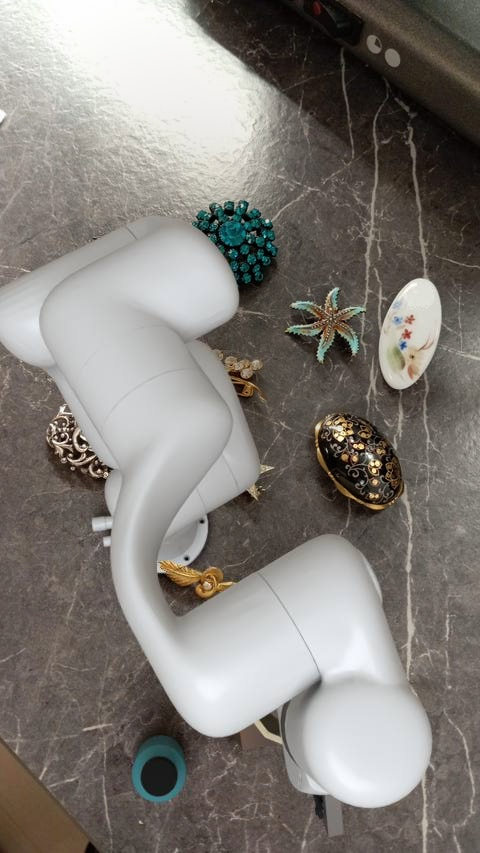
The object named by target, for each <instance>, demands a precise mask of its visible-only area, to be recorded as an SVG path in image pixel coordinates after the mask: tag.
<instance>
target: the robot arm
mask: <svg viewBox="0 0 480 853" xmlns="http://www.w3.org/2000/svg"><path fill="white" fill-rule="evenodd" d="M239 304H240V292H239V286H238V283H237V280H236V277H235V275H234V271H233V270H232V268H231V266H230V263H229V262H228V261H227V259H226V257H225V256H224V254H223V252H222V251H221V250H220V249H219V247H218V246H217V245H216V244H215V243H214V242H213V241H212V240H211V239H210V238H209V237H208V236H207V235H206V234H205V233H204V232H203V231H202V230H200V229H199V228H197V227H196V226H195V225H193V224H191V223H189V222H187V221H186V220H182V219H180V218H175V217H172V216H171V217H170V216H163V215H156V214H155V215H154V214H153V215H146V216H143V217H140V218H137V219H135V220H133V221H131V222H129V223H127V224H125V225H123V226H121V227H118V228H116V229H114V230H112V231H111V232H108V233H106V234H105V235H102V236H100V237H99V238H97V239H95V240H93V241H91V242H88V243H86V244H85V245H83V246H81V247H79V248H76V249H74V250H72V251H70V252H67V253H66V254H63V255H61V256H59V257H57V258H55V259H53V260H52V261H51V260H50V261H49V262H47V263H45V264H43V265H41V266H39V267H37V268H35V269H34V270H31V271H29V272H28V273H26V274H23V275H21V276H19V277H17V278H15V279H13V280H12V281H9V282H7V283H5V284H4V285H2V286H1V287H0V343H1V345H3V347H5V349H6V350H7V351H8V352H9V353H11V354H12V355H13V356H14V357H15V358H17V359H19V361H22V362H23V363H26V364H28V365H30V366H33V367H37V368H40V369H41V370H43V371H44V372H45V373H46V374H47V375H48V376H50V378H51V379H52V380H53V382H54V383H55V385H56V387H57V388H58V390H59V392H60V394H61V396H62V398H63V399H64V400H63V401H64V402H65V403H66V406H67V407H68V409H69V411H70V413H71V414H72V417H73V418H74V419H75V422H76V424H77V425H78V428H79V429H80V431H81V433H82V435H83V437H84V438H85V440H86V442H87V444H88V446H89V447H90V448H91V450H92V452H93V453H94V454H95V455H96V457H97V458H98V459H99V461H100V462H102V463H103V464H104V465H105V466H107V467H109V468H111V469H112V471H111V472H110V473H109V474H108V476H107V478H106V480H105V483H104V500H105V503H106V506H107V509H108V511H109V514H110V515H106V516H105V515H103V516H102V515H101V516H94V517H91V526H92V527H91V528H92V531H93V532H92V533H95V532H103V531H107V530H111V531H110V535H107V536H102V542H103V548H107V547H110V553H109V558H110V569H111V577H112V582H113V586H114V590H115V594H116V598H117V601H118V603H119V605H120V608H121V611H122V613H123V616H124V618H125V619H126V622H127V623H128V626H129V628H130V629H131V631H132V633H133V635H134V637H135V638H136V640H137V642H138V644H139V646H140V647H141V650H142V651H143V653H144V655H145V657H146V658H147V661H148V662H149V665H150V666H151V668H152V670H153V672H154V673H155V676H156V677H157V679H158V681H159V683H160V685H161V686H162V688H163V690H164V692H165V693H166V695H167V697H168V699H169V700H170V702H171V704H172V705H173V707H174V708H175V709H176V711H177V712H178V714H179V715H180V716H181V718H182V719H183V720H184V721H185V722H186V723H187V724H188V725H189V726H190V727H192V729H194V730H195V731H197V733H200V734H202V735H204V736H206V737H209V738H224V737H230V736H232V735H233V734H235V733H237V732H240V731H241V730H243V729H245V728H246V727H248V726H250V725H251V724H253V723H255V722H256V721H258V720H259V719H261V718H263V717H264V716H266V715H267V714H269V713H271V712H272V711H274V710H275V709H277V712H278V719H279V727H280V735H281V739H282V744H281V745H282V750H283V755H284V762H285V768H286V773H287V776H288V780H289V782H290V783H291V785H292V786H293V787H294V788H295V789H296V790H297V791H299V792H301V793H304V794H305V797H306V798H310V797H311V798H312V797H313V802H314V806H315V807H314V813H315V816H317V818H318V820H322V822H323V827H324V830H325V832H326V835H327V837H328V838H331V837H335V836H336V837H337V836H342V835H344V833H345V832H344V818H343V809H342V808H343V806H342V803H344V804H346V805H350V806H353V807H357V808H363V809H376V808H383V807H387V806H390V805H392V804H395V803H396V802H397V803H398V802H399V801H400V800H403V799H404V798H405V797H407V796H409V794H410V793H411V792H412V791H413V790H415V788H416V787H417V786H418V785H419V784H420V782H421V781H422V779H423V778H424V776H425V774H426V772H427V769H428V768H429V765H430V762H431V757H432V752H433V733H432V726H431V722H430V719H429V716H428V714H427V711H426V709H425V707H424V705H423V703H422V702H421V701H420V699H419V698H418V696H417V695H416V694H415V693H414V691H413V690H412V687H411V684H410V682H409V678H408V676H407V674H406V671H405V668H404V665H403V661H402V659H401V657H400V654H399V651H398V648H397V645H396V642H395V640H394V637H393V633H392V631H391V629H390V625H389V622H388V619H387V616H386V613H385V610H384V607H383V593H382V589H381V585H380V582H379V579H378V577H377V575H376V572H375V570H374V569H373V567H372V565H371V562H369V560H368V559H367V557H366V556H365V555H364V554H363V552H362V551H361V550H360V549H358V548H357V547H356V546H354V545H353V544H352V543H351V542H350V541H349V540H348V539H347V538H345V537H343V536H341V535H338V534H335V533H325V534H321V535H318V536H316V537H313V538H311V539H309V540H307V541H305V542H303V543H302V544H300V545H298V546H296V547H295V548H294V549H292V550H290V551H289V552H286V553H285V554H283V555H282V556H280V557H279V558H277V559H275V560H274V561H272V562H270V563H269V564H267V565H265V566H264V567H262V568H260V569H259V570H257V571H254V572H252V573H250V574H249V575H247V576H245V577H243V578H242V579H241V580H239V581H238V582H236V583H234V584H232V585H231V586H229V587H228V588H226V589H224V590H222V591H221V592H219V593H217V594H216V595H214V596H213V597H211V598H209V599H207V600H206V601H204V602H202V603H201V604H199V605H198V606H196V607H194V608H193V609H192V610H190V611H188V612H186V613H185V614H183V615H182V616H177V615H176V614H175V613H174V612H173V610H172V608H171V607H170V605H169V603H168V601H167V599H166V597H165V594H164V592H163V589H162V588H161V584H160V580H159V576H158V574H167V573H170V572H166V571H164V570H162V569H161V568H160V566H161V565H162V564H160V563H158V562H159V561H168V560H170V561H171V562H173V563H176V564H178V565H181V566H185V567H188V566H189V565H190V564H191V563H193V562H194V561H195V560H196V559H197V558H198V556H199V555H200V554H201V552H202V551H203V548H204V547H205V544H206V542H207V538H208V533H209V519H208V514H209V513H210V512H213V511H214V510H215V509H218V508H219V507H221V506H223V505H224V504H226V503H228V502H230V501H232V500H234V498H236V497H238V496H239V495H241V494H243V493H244V492H247V490H249V489H250V488H252V487H253V486H255V484H256V483H257V482H258V481H259V478H260V476H261V471H262V470H261V469H262V468H261V467H262V466H261V459H260V455H259V452H258V450H257V446H256V443H255V441H254V439H253V435H252V432H251V429H250V427H249V424H248V422H247V418H246V416H245V413H244V409H243V406H242V405H241V402H240V399H239V397H238V394H237V391H236V389H235V385H234V384H233V381H232V379H231V377H230V374H229V372H228V371H227V369H226V367H225V365H224V364H223V361H222V360H221V359H220V358H219V356H218V355H217V354H216V352H215V351H214V350H213V349H212V348H211V346H209V345H208V344H206V343H205V342H204V341H201V340H199V338H200V337H202V336H204V335H206V334H207V333H209V332H211V331H213V330H215V329H217V328H219V327H220V326H222V325H224V324H226V323H227V322H228V321H230V320H231V319H232V318H233V317H234V316H235V314H236V313H237V311H238V308H239ZM201 521H203V522H201ZM186 558H188V559H187V560H186ZM185 567H183V568H181V569H179V570H176V571H172V572H171V573H174V572H177V571H180V570H182V569H184V568H185Z"/></svg>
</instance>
